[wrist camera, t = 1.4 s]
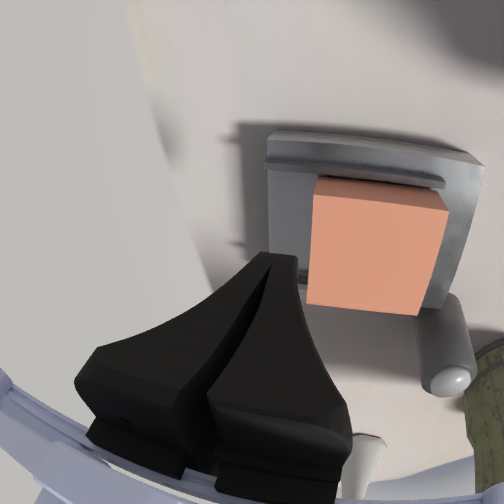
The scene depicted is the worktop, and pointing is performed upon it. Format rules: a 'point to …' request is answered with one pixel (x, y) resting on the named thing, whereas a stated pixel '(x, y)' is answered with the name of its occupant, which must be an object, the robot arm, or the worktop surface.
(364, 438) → the flask
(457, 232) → the socket plate
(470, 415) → the green stone statue
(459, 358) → the plug
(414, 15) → the worktop surface
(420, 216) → the orange square block
